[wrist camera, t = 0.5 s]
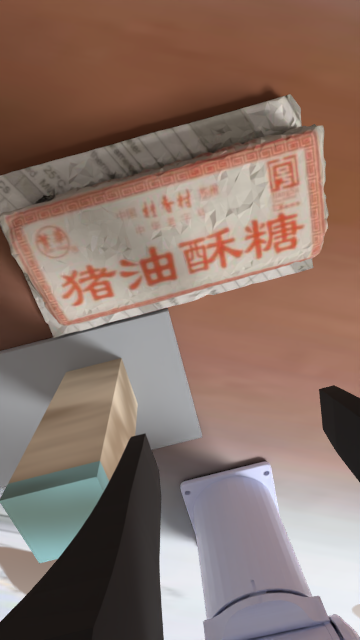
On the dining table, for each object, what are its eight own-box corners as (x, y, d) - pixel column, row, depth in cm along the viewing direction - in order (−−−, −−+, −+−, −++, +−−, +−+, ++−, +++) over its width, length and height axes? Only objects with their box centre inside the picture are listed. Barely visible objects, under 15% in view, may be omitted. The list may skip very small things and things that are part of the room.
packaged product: (335, 62, 13) (347, 281, 17) (289, 98, 18) (306, 265, 21) (-65, 174, 13) (31, 366, 17) (-10, 181, 18) (57, 332, 22)
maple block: (137, 404, 23) (126, 541, 14) (85, 417, 23) (39, 563, 14) (121, 357, 21) (96, 476, 12) (66, 372, 21) (-1, 501, 12)
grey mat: (201, 431, 25) (202, 437, 24) (-59, 496, 25) (-63, 503, 25) (167, 308, 21) (168, 311, 20) (-140, 386, 21) (-148, 391, 21)
